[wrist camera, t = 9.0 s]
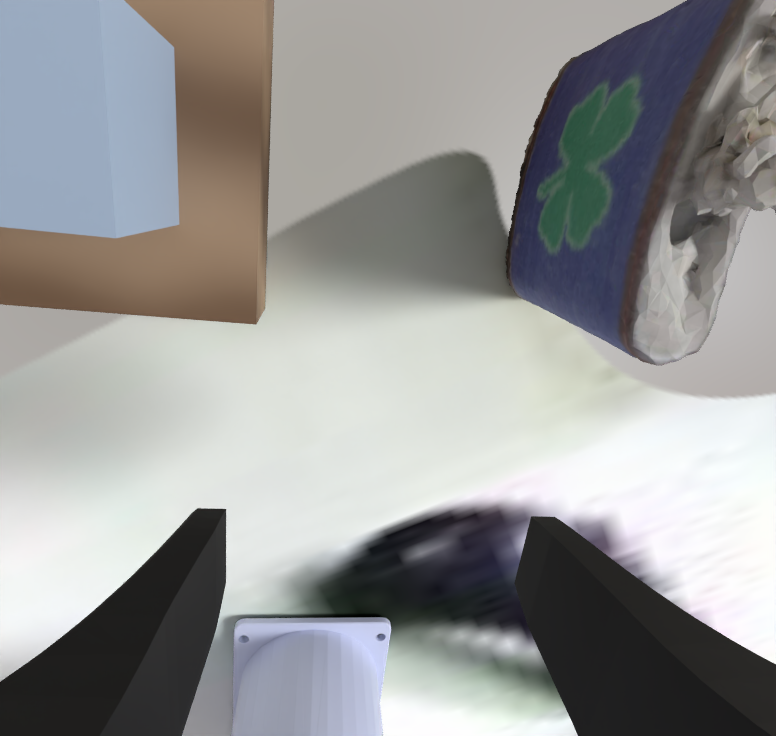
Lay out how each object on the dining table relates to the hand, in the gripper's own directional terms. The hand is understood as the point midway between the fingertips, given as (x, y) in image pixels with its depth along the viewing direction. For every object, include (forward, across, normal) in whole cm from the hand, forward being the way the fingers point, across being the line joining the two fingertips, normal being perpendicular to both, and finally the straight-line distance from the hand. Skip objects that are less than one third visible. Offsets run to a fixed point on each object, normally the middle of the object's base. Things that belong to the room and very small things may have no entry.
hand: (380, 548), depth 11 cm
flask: (+11, -7, -9) cm, 16 cm away
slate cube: (+8, +9, -9) cm, 15 cm away
